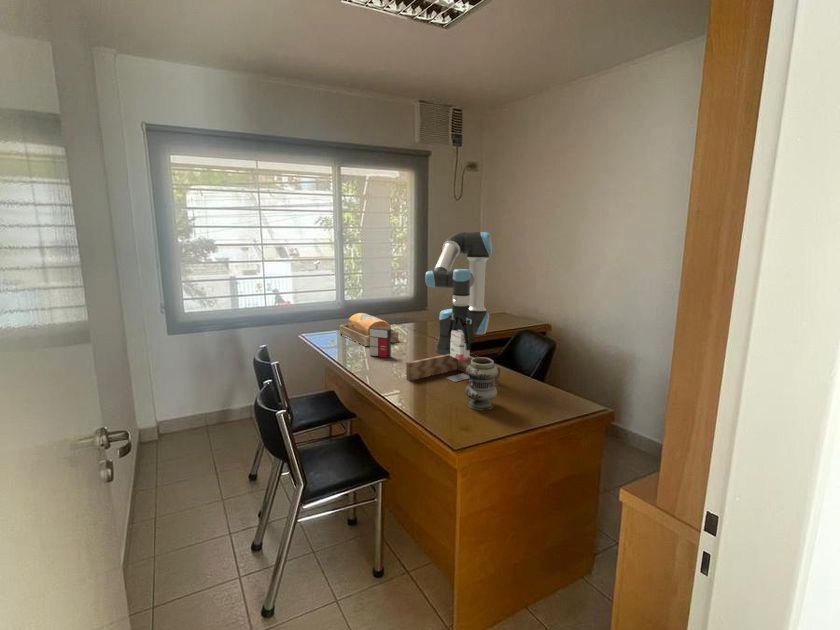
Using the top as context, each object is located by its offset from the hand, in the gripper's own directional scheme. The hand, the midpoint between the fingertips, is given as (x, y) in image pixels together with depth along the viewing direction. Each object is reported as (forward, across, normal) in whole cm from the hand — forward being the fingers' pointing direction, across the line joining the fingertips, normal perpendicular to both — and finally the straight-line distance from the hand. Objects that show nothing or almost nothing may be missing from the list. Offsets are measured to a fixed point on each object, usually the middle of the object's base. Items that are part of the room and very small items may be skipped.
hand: (459, 354), depth 194 cm
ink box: (+2, 0, 0) cm, 2 cm away
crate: (+11, -88, 0) cm, 88 cm away
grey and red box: (+11, -50, -13) cm, 53 cm away
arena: (+11, +2, -6) cm, 13 cm away
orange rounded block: (+11, -86, +1) cm, 87 cm away
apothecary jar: (+12, +28, -13) cm, 33 cm away
